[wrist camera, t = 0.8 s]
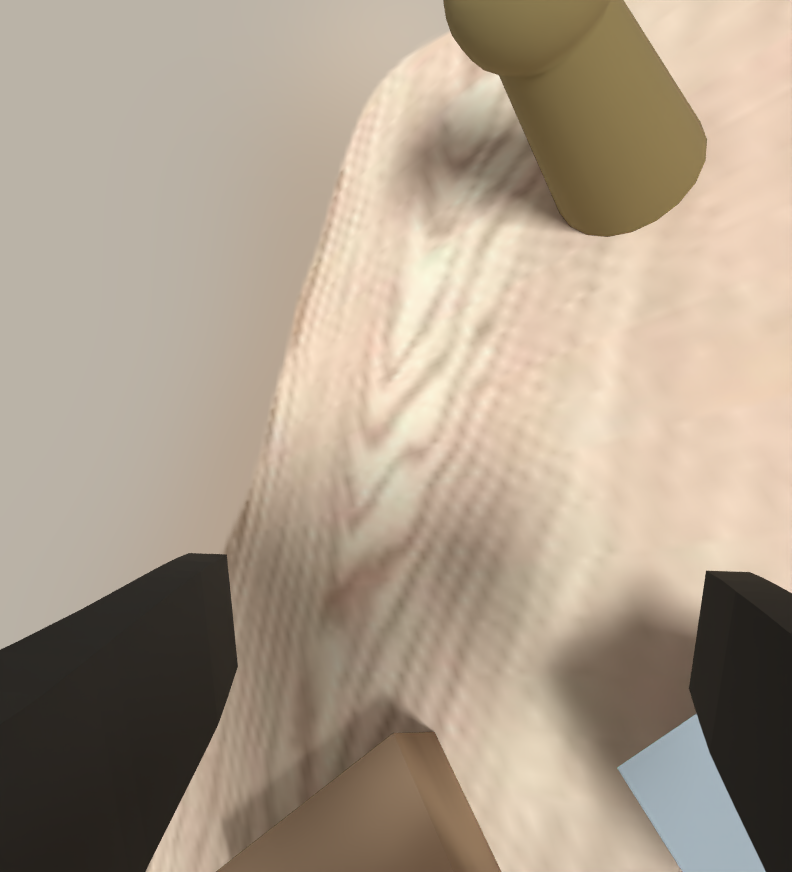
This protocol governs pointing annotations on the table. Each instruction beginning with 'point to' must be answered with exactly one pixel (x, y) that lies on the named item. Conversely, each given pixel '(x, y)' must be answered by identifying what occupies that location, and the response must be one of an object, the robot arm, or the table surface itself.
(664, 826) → the slate block
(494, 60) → the olive pawn
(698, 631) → the robot arm
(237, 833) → the table surface
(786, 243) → the table surface
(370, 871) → the walnut block
